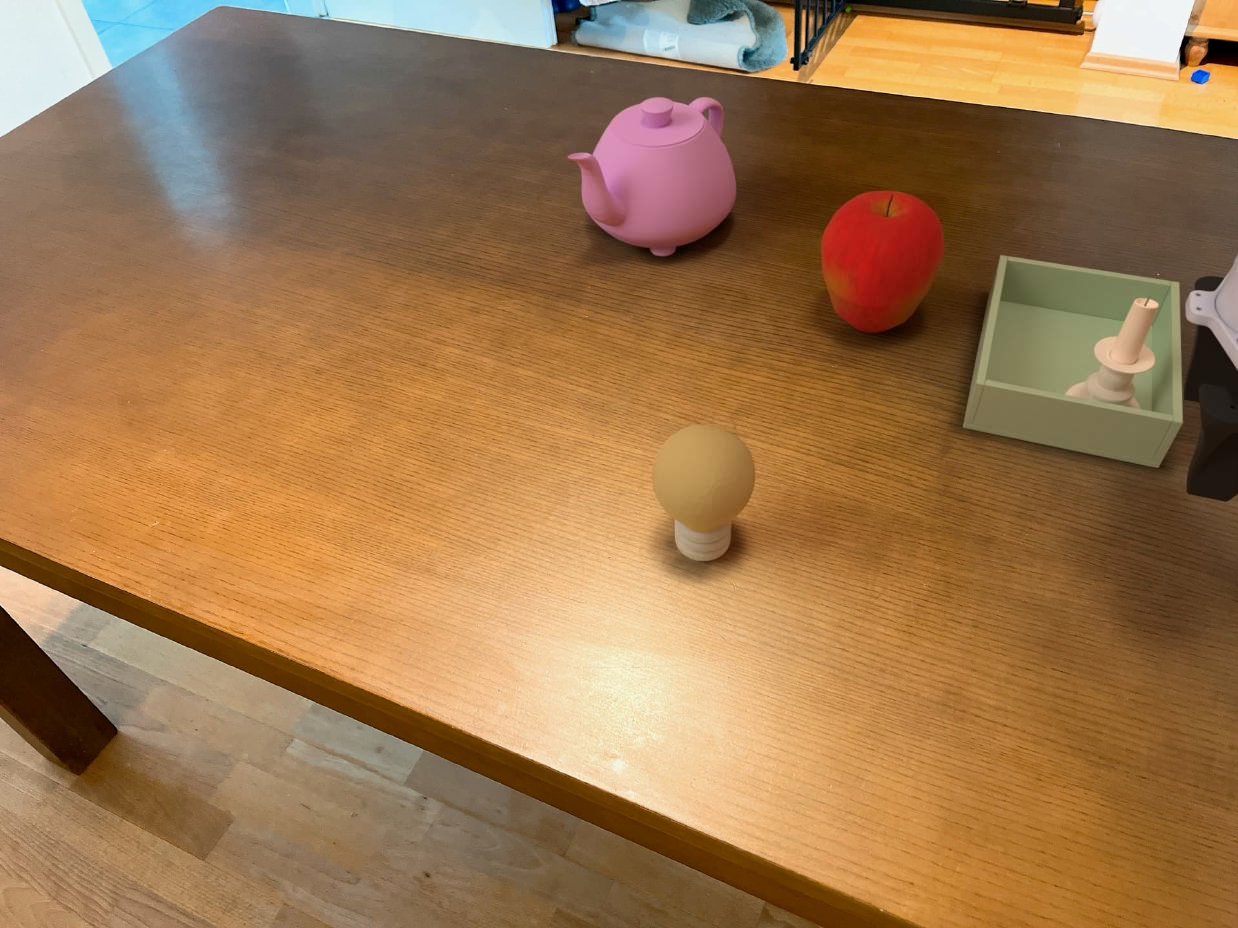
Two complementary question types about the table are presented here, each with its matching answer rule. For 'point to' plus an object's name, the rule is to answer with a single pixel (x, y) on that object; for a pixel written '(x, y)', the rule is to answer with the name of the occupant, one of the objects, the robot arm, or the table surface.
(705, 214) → the teapot
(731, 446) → the light bulb
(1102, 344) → the candle
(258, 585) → the table surface
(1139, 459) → the open box
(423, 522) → the table surface
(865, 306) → the apple
